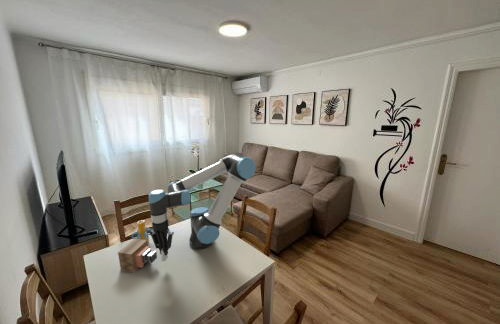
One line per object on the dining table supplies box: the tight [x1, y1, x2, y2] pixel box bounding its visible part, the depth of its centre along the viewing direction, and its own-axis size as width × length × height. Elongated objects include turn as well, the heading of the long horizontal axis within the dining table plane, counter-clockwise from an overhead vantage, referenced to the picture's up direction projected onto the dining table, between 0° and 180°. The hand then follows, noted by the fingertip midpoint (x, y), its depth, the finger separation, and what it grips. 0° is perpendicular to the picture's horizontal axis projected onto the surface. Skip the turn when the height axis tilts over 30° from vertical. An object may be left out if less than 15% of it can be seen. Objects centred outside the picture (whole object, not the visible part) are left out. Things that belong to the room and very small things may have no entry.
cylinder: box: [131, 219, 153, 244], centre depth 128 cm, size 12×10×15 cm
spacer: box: [135, 245, 151, 268], centre depth 110 cm, size 3×8×8 cm, turn 169°
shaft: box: [142, 248, 158, 264], centre depth 110 cm, size 18×5×5 cm, turn 79°
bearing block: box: [117, 239, 149, 273], centre depth 111 cm, size 8×12×11 cm, turn 169°
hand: (164, 259), depth 108 cm, fingers closed
